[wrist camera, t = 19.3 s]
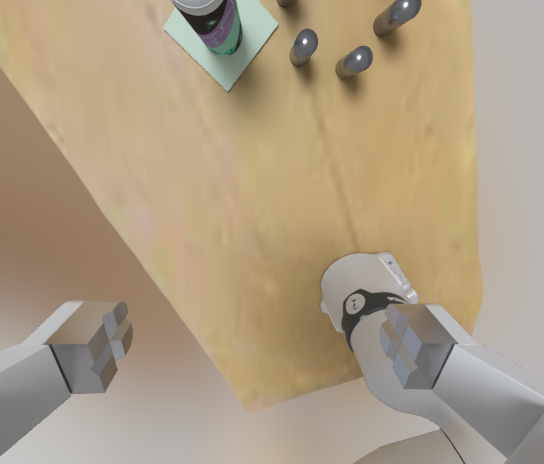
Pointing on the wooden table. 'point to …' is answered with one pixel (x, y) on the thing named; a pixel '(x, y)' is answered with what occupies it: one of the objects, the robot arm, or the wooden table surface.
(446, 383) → the robot arm
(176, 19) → the mat
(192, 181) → the wooden table surface
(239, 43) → the spray can
